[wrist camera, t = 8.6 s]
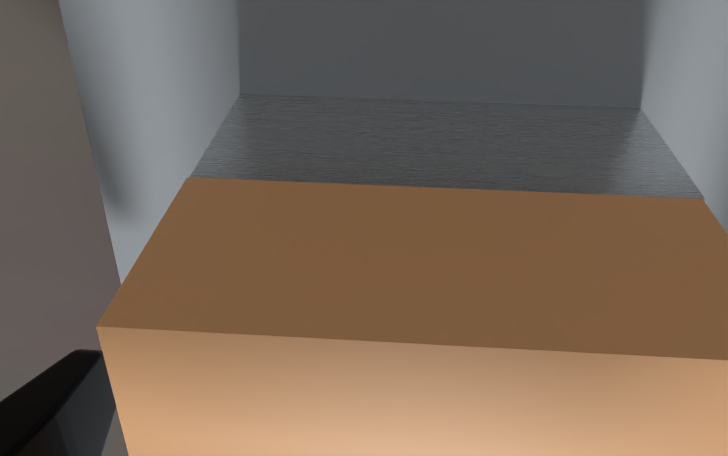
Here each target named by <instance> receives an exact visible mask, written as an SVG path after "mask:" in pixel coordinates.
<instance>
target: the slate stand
mask: <svg viewBox="0 0 728 456" xmlns="http://www.w3.org/2000/svg"><path fill="white" fill-rule="evenodd" d="M58 1H59V6H60V10H61V15H62V19H63V24H64V28H65V33H66V37H67V42H68V46H69V51H70V55H71V60H72V64H73V69H74V74H75V78H76V83H77V87H78V92H79V96H80V101H81V105H82V110H83V114H84V119H85V123H86V128H87V132H88V137H89V141H90V146H91V150H92V155H93V159H94V164H95V168H96V173H97V178H98V182H99V187H100V191H101V196H102V200H103V205H104V209H105V214H106V218H107V223H108V227H109V232H110V236H111V241H112V245H113V250H114V254H115V259H116V263H117V268H118V272H119V277H120V282H121V285H122V283H123V281H124V280H125V278H126V277H127V275H128V273H129V272H130V270H131V268H132V267H133V265H134V263H135V262H136V260H137V259H138V257H139V255H140V254H141V252H142V250H143V249H144V247H145V245H146V244H147V242H148V240H149V239H150V237H151V236H152V234H153V232H154V231H155V229H156V227H157V226H158V224H159V222H160V221H161V219H162V218H163V216H164V214H165V213H166V211H167V209H168V208H169V206H170V204H171V203H172V201H173V200H174V198H175V196H176V195H177V193H178V191H179V190H180V188H181V186H182V185H183V183H184V181H185V180H186V178H187V177H190V175H191V174H192V172H193V170H194V169H195V167H196V165H197V164H198V162H199V160H200V159H201V157H202V156H203V154H204V152H205V151H206V149H207V147H208V146H209V144H210V142H211V141H212V139H213V137H214V136H215V134H216V132H217V131H218V129H219V127H220V126H221V124H222V122H223V121H224V119H225V117H226V116H227V114H228V112H229V111H230V109H231V108H232V106H233V104H234V103H235V101H236V99H237V98H238V96H239V94H266V95H295V96H323V97H351V98H380V99H408V100H436V101H465V102H493V103H521V104H549V105H578V106H606V107H634V108H641V109H642V110H643V112H644V113H645V114H646V116H647V117H648V119H649V120H650V122H651V123H652V124H653V126H654V127H655V129H656V130H657V131H658V133H659V134H660V136H661V137H662V138H663V140H664V141H665V143H666V144H667V145H668V147H669V148H670V150H671V151H672V153H673V154H674V155H675V157H676V158H677V160H678V161H679V162H680V164H681V165H682V167H683V168H684V169H685V171H686V172H687V174H688V175H689V176H690V178H691V179H692V181H693V182H694V183H695V185H696V186H697V188H698V189H699V191H700V192H701V193H702V195H703V196H704V198H705V203H706V205H707V206H708V207H709V209H710V210H711V212H712V213H713V215H714V216H715V217H716V219H717V220H718V222H719V223H720V224H721V226H722V227H723V229H724V230H725V232H726V233H727V234H728V0H58Z"/></svg>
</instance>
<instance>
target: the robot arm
mask: <svg viewBox="0 0 728 456" xmlns="http://www.w3.org/2000/svg"><path fill="white" fill-rule="evenodd" d="M115 409H116V403H115V399H114V395H113V391H112V387H111V383H110V379H109V375H108V371H107V368H106V364H105V360H104V356H103V352H102V351H100V350H83V349H79V350H75V351H73V352H71V353H70V354H68V355H67V356H65V357H64V358H62V359H61V360H59V361H58V362H57V363H55V364H54V365H52V366H51V367H49V368H48V369H47V370H45V371H44V372H42V373H41V374H39V375H38V376H36V377H35V378H34V379H32V380H31V381H29V382H28V383H26V384H25V385H24V386H22V387H21V388H19V389H18V390H16V391H15V392H14V393H12V394H11V395H9V396H8V397H6V398H5V399H3V400H2V401H1V402H0V456H101V455H102V452H103V449H104V445H105V442H106V439H107V436H108V432H109V429H110V426H111V423H112V419H113V416H114V413H115Z"/></svg>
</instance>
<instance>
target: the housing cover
mask: <svg viewBox="0 0 728 456" xmlns="http://www.w3.org/2000/svg"><path fill="white" fill-rule="evenodd" d="M96 328H97V332H98V336H99V340H100V344H101V348H102V352H103V356H104V360H105V364H106V368H107V371H108V375H109V379H110V383H111V387H112V391H113V395H114V399H115V403H116V407H117V411H118V415H119V419H120V422H121V426H122V430H123V434H124V438H125V442H126V446H127V450H128V454H129V456H728V234H727V233H726V232H725V230H724V229H723V227H722V226H721V224H720V223H719V222H718V220H717V219H716V217H715V216H714V215H713V213H712V212H711V210H710V209H709V207H708V206H707V205H706V203H705V202H704V200H703V199H690V198H667V197H643V196H619V195H595V194H571V193H547V192H523V191H499V190H475V189H451V188H427V187H404V186H380V185H356V184H332V183H308V182H284V181H260V180H236V179H212V178H189V177H187V178H186V180H185V181H184V183H183V185H182V186H181V188H180V190H179V191H178V193H177V195H176V196H175V198H174V200H173V201H172V203H171V204H170V206H169V208H168V209H167V211H166V213H165V214H164V216H163V218H162V219H161V221H160V222H159V224H158V226H157V227H156V229H155V231H154V232H153V234H152V236H151V237H150V239H149V240H148V242H147V244H146V245H145V247H144V249H143V250H142V252H141V254H140V255H139V257H138V259H137V260H136V262H135V263H134V265H133V267H132V268H131V270H130V272H129V273H128V275H127V277H126V278H125V280H124V281H123V283H122V285H121V286H120V288H119V290H118V291H117V293H116V295H115V296H114V298H113V299H112V301H111V303H110V304H109V306H108V308H107V309H106V311H105V313H104V314H103V316H102V318H101V319H100V321H99V322H98V324H97V326H96Z"/></svg>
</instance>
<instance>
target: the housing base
mask: <svg viewBox="0 0 728 456" xmlns="http://www.w3.org/2000/svg"><path fill="white" fill-rule="evenodd" d="M189 178H212V179H236V180H260V181H284V182H308V183H332V184H356V185H380V186H404V187H427V188H451V189H475V190H499V191H523V192H547V193H571V194H595V195H619V196H643V197H667V198H690V199H703V200H704V202H705V198H704V196H703V195H702V193H701V192H700V191H699V189H698V188H697V186H696V185H695V183H694V182H693V181H692V179H691V178H690V176H689V175H688V174H687V172H686V171H685V169H684V168H683V167H682V165H681V164H680V162H679V161H678V160H677V158H676V157H675V155H674V154H673V153H672V151H671V150H670V148H669V147H668V145H667V144H666V143H665V141H664V140H663V138H662V137H661V136H660V134H659V133H658V131H657V130H656V129H655V127H654V126H653V124H652V123H651V122H650V120H649V119H648V117H647V116H646V114H645V113H644V112H643V110H642V109H641V108H634V107H606V106H578V105H549V104H521V103H493V102H465V101H436V100H408V99H380V98H351V97H323V96H295V95H266V94H239V96H238V98H237V99H236V101H235V103H234V104H233V106H232V108H231V109H230V111H229V112H228V114H227V116H226V117H225V119H224V121H223V122H222V124H221V126H220V127H219V129H218V131H217V132H216V134H215V136H214V137H213V139H212V141H211V142H210V144H209V146H208V147H207V149H206V151H205V152H204V154H203V156H202V157H201V159H200V160H199V162H198V164H197V165H196V167H195V169H194V170H193V172H192V174H191V175H190V177H189Z"/></svg>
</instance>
